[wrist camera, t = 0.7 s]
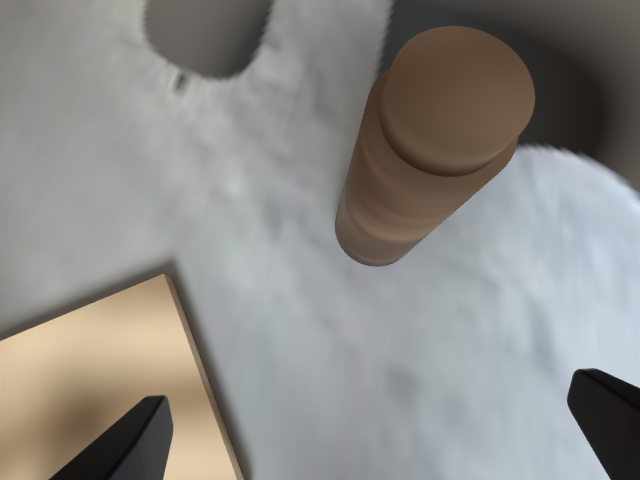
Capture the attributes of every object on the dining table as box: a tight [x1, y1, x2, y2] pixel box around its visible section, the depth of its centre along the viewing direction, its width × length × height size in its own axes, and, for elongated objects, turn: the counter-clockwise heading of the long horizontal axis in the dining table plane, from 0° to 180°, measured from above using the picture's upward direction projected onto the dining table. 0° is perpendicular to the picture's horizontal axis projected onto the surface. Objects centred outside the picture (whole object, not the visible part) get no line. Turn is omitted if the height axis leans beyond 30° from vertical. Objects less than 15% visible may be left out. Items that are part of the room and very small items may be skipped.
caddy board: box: [0, 274, 244, 480], centre depth 19 cm, size 12×10×1 cm
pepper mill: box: [335, 26, 535, 266], centre depth 17 cm, size 5×5×13 cm
